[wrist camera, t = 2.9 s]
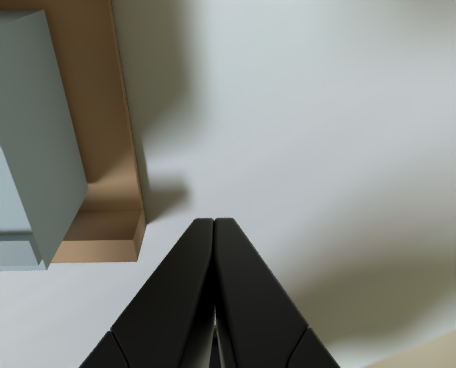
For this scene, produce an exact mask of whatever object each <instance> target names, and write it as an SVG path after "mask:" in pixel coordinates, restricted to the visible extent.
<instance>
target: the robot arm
mask: <svg viewBox="0 0 456 368" xmlns="http://www.w3.org/2000/svg"><path fill="white" fill-rule="evenodd" d="M215 314H216V328H217V331H214V322H215ZM79 368H340V366H339V365H338V364H337V362H336V361H335V360H334V358H333V357H332V356H331V354H330V353H329V352H328V350H327V349H326V348H325V346H324V345H323V344H322V342H321V341H320V339H319V338H318V337H317V335H316V334H315V332H314V331H313V330H312V328H309V324H308V323H307V321H306V320H305V319H304V317H303V316H302V314H301V313H300V311H299V310H298V309H297V307H296V306H295V304H294V303H293V302H292V300H291V299H290V297H289V296H288V294H287V293H286V292H285V290H284V289H283V287H282V286H281V285H280V283H279V282H278V280H277V279H276V277H275V276H274V275H273V273H272V272H271V270H270V269H269V268H268V266H267V265H266V263H265V262H264V260H263V259H262V258H261V256H260V255H259V253H258V252H257V251H256V249H255V248H254V246H253V245H252V243H251V242H250V241H249V239H248V238H247V236H246V235H245V234H244V232H243V231H242V229H241V228H240V226H239V225H238V224H237V222H236V221H235V220H234V219H233V218H216V219H215V221H214V220H213V219H212V218H196V219H195V220H194V221H193V222H192V223H191V225H190V226H189V227H188V228H187V230H186V231H185V232H184V234H183V235H182V236H181V237H180V239H179V240H178V241H177V243H176V244H175V245H174V246H173V248H172V249H171V250H170V252H169V253H168V254H167V256H166V257H165V258H164V259H163V261H162V262H161V263H160V265H159V266H158V267H157V268H156V270H155V271H154V272H153V274H152V275H151V276H150V278H149V279H148V280H147V281H146V283H145V284H144V285H143V287H142V288H141V289H140V290H139V292H138V293H137V294H136V296H135V297H134V298H133V299H132V301H131V302H130V303H129V305H128V306H127V307H126V309H125V310H124V311H123V312H122V314H121V315H120V316H119V318H118V319H117V320H116V321H115V323H114V324H113V325H112V327H111V328H110V331H108V332H107V333H106V334H105V335H104V337H103V338H102V339H101V341H100V342H99V343H98V344H97V346H96V347H95V348H94V349H93V351H92V352H91V353H90V354H89V356H88V357H87V358H86V359H85V360H84V362H83V363H82V364H81V365H80V367H79Z"/></svg>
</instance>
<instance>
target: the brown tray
mask: <svg viewBox="0 0 456 368" xmlns="http://www.w3.org/2000/svg"><path fill="white" fill-rule="evenodd" d="M18 9H44V11H45V15H46V19H47V23H48V27H49V31H50V35H51V39H52V43H53V47H54V51H55V55H56V59H57V63H58V67H59V71H60V75H61V79H62V83H63V88H64V92H65V96H66V100H67V104H68V108H69V112H70V116H71V120H72V124H73V128H74V132H75V136H76V140H77V144H78V148H79V152H80V156H81V160H82V164H83V168H84V172H85V176H86V181H87V185H88V189H89V191H88V193H87V195H86V197H85V199H84V201H83V203H82V204H81V206H80V208H79V210H78V212H77V214H76V216H75V218H74V220H73V221H72V223H71V225H70V227H69V229H68V231H67V233H66V235H65V237H64V238H63V240H62V242H61V244H60V246H59V248H58V250H57V252H56V254H55V255H54V257H53V259H52V261H51V263H86V262H137V260H138V256H139V252H140V249H141V245H142V241H143V237H144V233H145V229H146V226H147V225H146V219H145V213H144V206H143V200H142V194H141V187H140V181H139V175H138V168H137V162H136V156H135V149H134V143H133V137H132V130H131V124H130V118H129V111H128V105H127V99H126V92H125V86H124V80H123V73H122V67H121V61H120V54H119V48H118V42H117V35H116V29H115V23H114V16H113V10H112V4H111V0H0V10H18Z"/></svg>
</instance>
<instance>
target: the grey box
mask: <svg viewBox="0 0 456 368" xmlns="http://www.w3.org/2000/svg"><path fill="white" fill-rule="evenodd" d="M88 191H89V189H88V185H87V181H86V176H85V172H84V168H83V164H82V160H81V156H80V152H79V148H78V144H77V140H76V136H75V132H74V128H73V124H72V120H71V116H70V112H69V108H68V104H67V100H66V96H65V92H64V88H63V83H62V79H61V75H60V71H59V67H58V63H57V59H56V55H55V51H54V47H53V43H52V39H51V35H50V31H49V27H48V23H47V19H46V15H45V11H44V9H18V10H0V271H30V270H47V269H48V267H49V265H50V263H51V261H52V259H53V257H54V255H55V254H56V252H57V250H58V248H59V246H60V244H61V242H62V240H63V238H64V237H65V235H66V233H67V231H68V229H69V227H70V225H71V223H72V221H73V220H74V218H75V216H76V214H77V212H78V210H79V208H80V206H81V204H82V203H83V201H84V199H85V197H86V195H87V193H88Z"/></svg>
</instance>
